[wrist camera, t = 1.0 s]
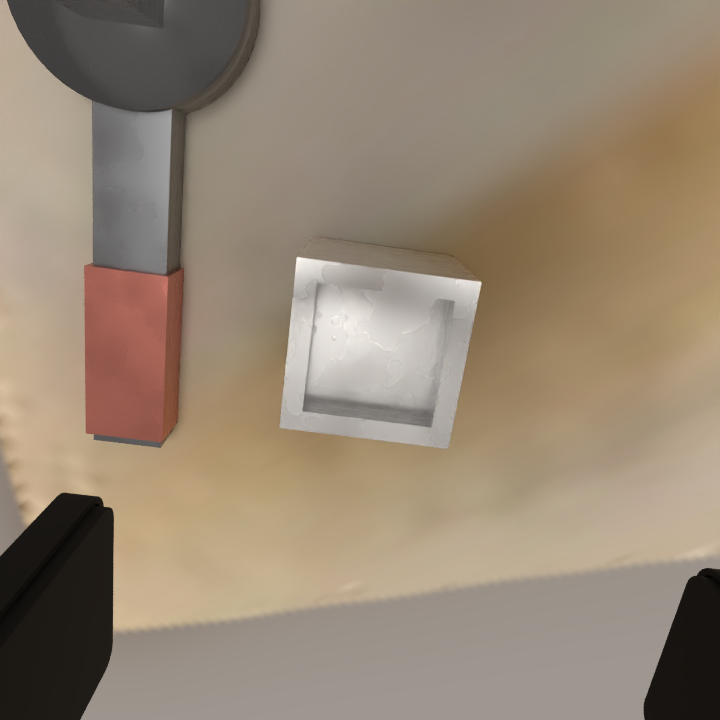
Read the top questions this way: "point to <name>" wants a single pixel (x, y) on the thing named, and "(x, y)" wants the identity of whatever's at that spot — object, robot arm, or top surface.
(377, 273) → the socket
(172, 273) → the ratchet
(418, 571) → the top surface
